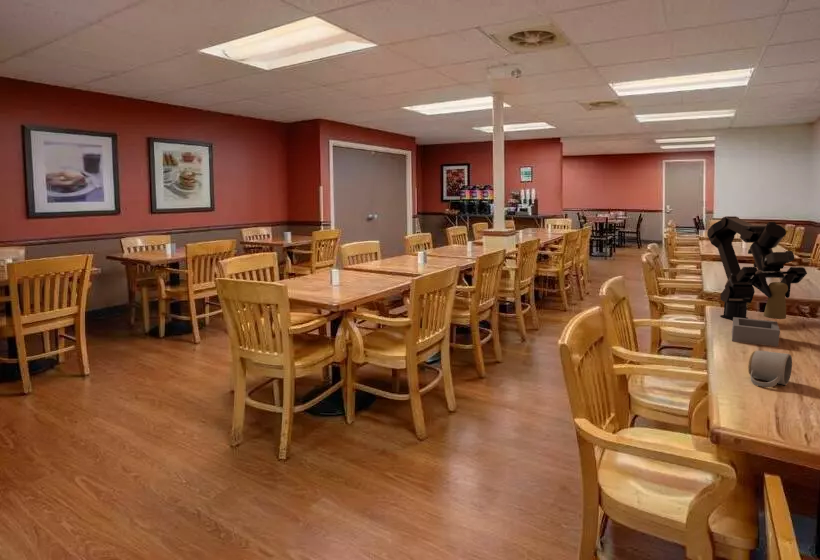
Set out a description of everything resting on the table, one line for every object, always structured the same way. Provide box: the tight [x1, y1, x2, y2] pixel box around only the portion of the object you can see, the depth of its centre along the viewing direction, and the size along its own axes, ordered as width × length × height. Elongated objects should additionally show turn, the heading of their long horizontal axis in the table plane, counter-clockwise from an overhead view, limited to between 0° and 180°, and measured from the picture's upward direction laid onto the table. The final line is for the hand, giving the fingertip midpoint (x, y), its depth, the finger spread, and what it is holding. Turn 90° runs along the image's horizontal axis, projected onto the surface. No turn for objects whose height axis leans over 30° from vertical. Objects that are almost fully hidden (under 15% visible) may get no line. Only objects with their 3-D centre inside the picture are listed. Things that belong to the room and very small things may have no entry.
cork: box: [763, 281, 788, 320], centre depth 169 cm, size 6×6×11 cm
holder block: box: [731, 317, 781, 347], centre depth 170 cm, size 12×12×5 cm
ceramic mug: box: [747, 350, 793, 388], centre depth 134 cm, size 11×8×8 cm
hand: (779, 297), depth 168 cm, fingers closed on cork, 5 cm apart
